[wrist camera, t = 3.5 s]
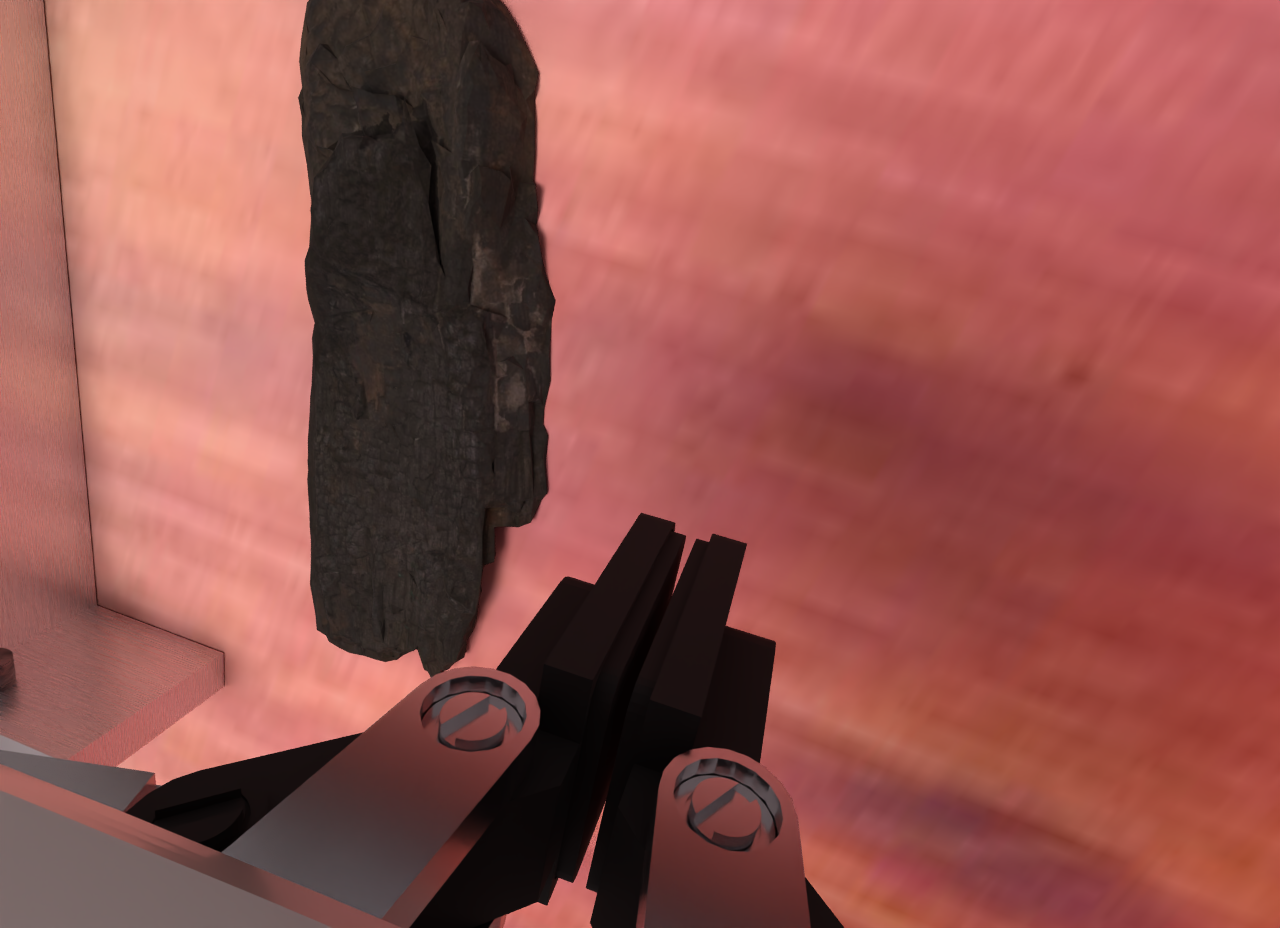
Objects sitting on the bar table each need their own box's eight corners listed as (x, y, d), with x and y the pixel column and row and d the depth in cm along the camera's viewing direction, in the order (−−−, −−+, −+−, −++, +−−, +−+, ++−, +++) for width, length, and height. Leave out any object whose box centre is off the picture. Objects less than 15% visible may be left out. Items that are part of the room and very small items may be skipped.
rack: (211, -235, 17) (-81, -455, 12) (223, 686, 27) (68, 801, 22) (-28, -263, 19) (-392, -473, 13) (67, 626, 29) (-116, 720, 23)
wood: (525, 703, 24) (485, 765, 21) (336, 643, 26) (276, 693, 23) (626, -51, 17) (585, -109, 14) (350, -81, 18) (262, -140, 15)
